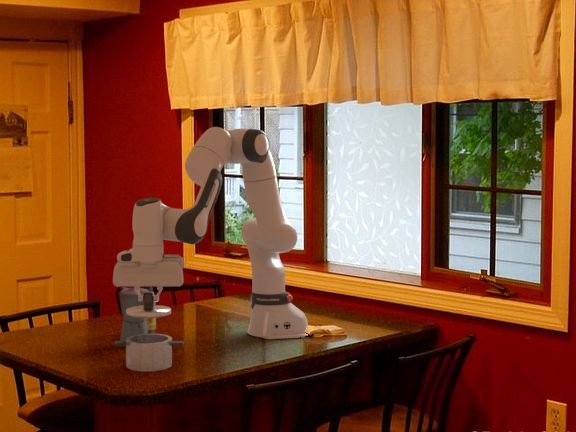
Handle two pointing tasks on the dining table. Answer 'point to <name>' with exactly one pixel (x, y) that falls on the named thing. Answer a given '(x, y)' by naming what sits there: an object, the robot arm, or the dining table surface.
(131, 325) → the moka pot
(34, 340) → the dining table surface
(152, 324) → the sauce bottle
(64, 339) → the dining table surface
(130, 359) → the pot
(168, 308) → the lid
